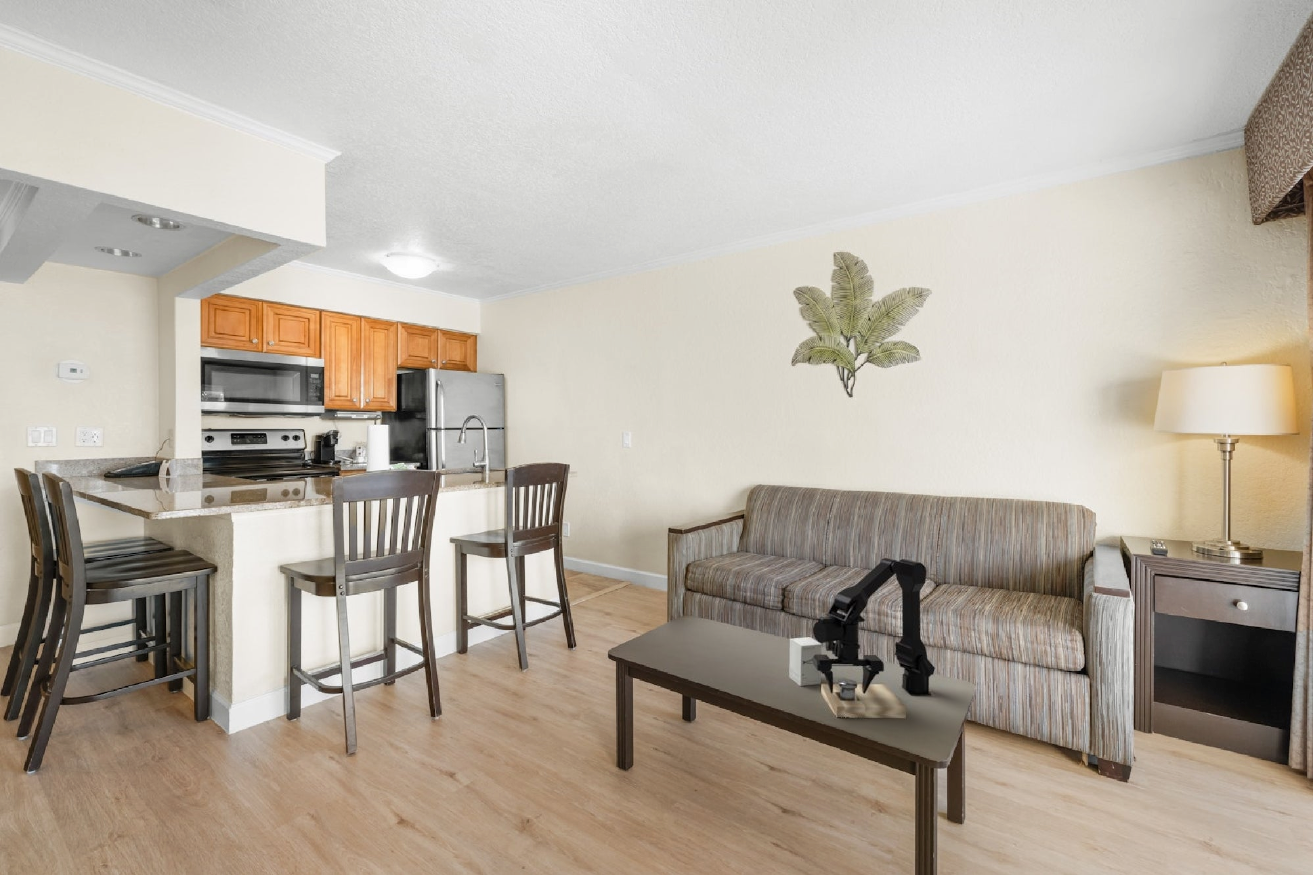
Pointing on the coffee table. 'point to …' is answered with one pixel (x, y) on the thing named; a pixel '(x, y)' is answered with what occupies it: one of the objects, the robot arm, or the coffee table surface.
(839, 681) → the flared metal knob
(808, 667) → the supplement box
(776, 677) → the coffee table surface
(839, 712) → the plate
